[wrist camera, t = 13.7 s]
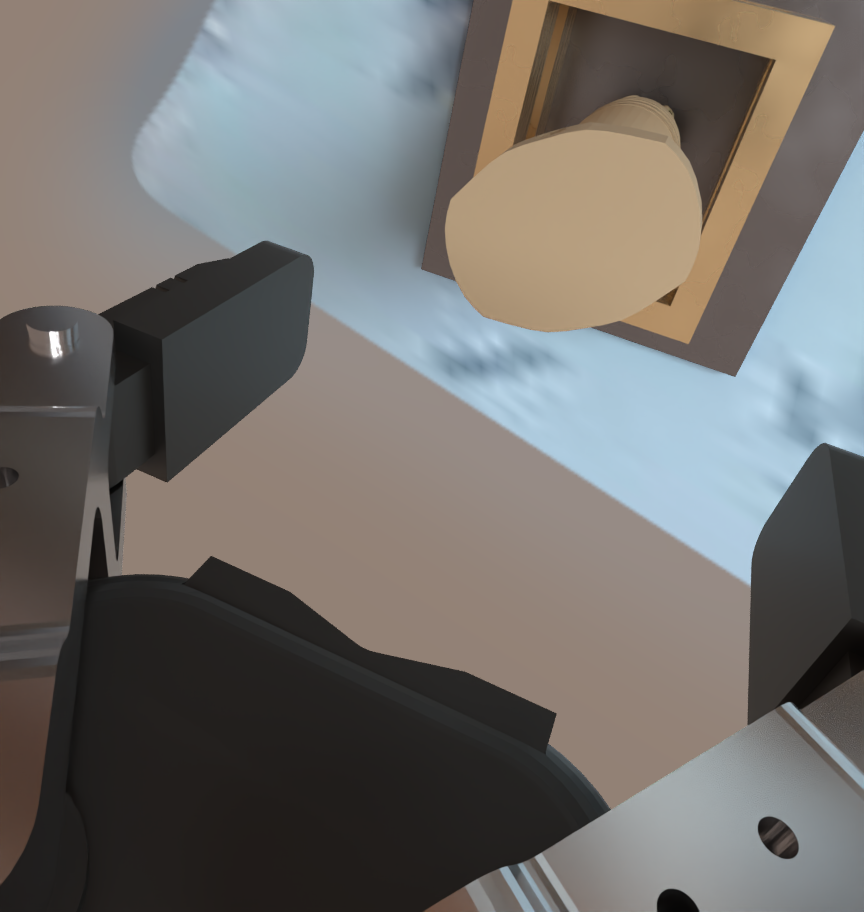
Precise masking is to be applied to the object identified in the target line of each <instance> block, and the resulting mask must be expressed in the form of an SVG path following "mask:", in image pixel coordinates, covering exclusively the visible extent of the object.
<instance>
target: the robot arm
mask: <svg viewBox="0 0 864 912" xmlns="http://www.w3.org/2000/svg"><path fill="white" fill-rule="evenodd" d="M313 277H314V266H313V262H312V259H311V258H310V257H309V256H308V255H305V254H302V253H300V252H297V251H294V250H291V249H289V248H286V247H283V246H280V245H277V244H275V243H272V242H269V241H263V242H260V243H258V244H257V245H255V246H253V247H251V248H249V249H247V250H245V251H243V252H241V253H239V254H238V255H236V256H234V257H232V258H230V259H222V260H217V261H212V262H207V263H201V264H197V265H195V266H193V267H191V268H189V269H187V270H185V271H183V272H181V273H179V274H177V275H176V276H175V278H174V279H172V278H169V279H167V280H165V281H163V282H162V283H159V284H157V286H156V288H152V287H151V288H150V289H148V290H146V291H144V292H142V293H140V294H138V295H136V296H134V297H132V298H130V299H128V300H126V301H124V302H122V303H120V304H118V305H116V306H114V307H112V308H110V309H108V310H106V311H104V312H102V313H100V314H96V313H93V312H91V311H88V310H84V309H80V308H75V307H68V306H39V307H33V308H27V309H23V310H19V311H16V312H13V313H11V314H8V315H6V316H4V317H3V318H1V319H0V912H864V457H863V456H860V455H857V454H854V453H852V452H849V451H846V450H843V449H840V448H838V447H835V446H832V445H829V444H827V443H823V444H820V445H819V446H818V447H817V448H816V449H815V450H814V451H813V452H812V453H811V455H810V456H809V458H808V459H807V461H806V462H805V464H804V465H803V467H802V468H801V470H800V471H799V473H798V474H797V476H796V477H795V479H794V480H793V482H792V483H791V485H790V487H789V488H788V490H787V491H786V493H785V494H784V496H783V497H782V499H781V500H780V502H779V503H778V505H777V506H776V508H775V509H774V511H773V512H772V514H771V516H770V517H769V519H768V520H767V522H766V523H765V525H764V527H763V529H762V531H761V533H760V535H759V537H758V540H757V542H756V545H755V549H754V552H753V557H752V567H751V608H750V609H751V610H750V648H749V650H750V651H749V688H748V726H747V727H745V728H743V729H742V730H740V731H738V732H737V733H735V734H734V735H732V736H730V737H729V738H727V739H725V740H724V741H722V742H721V743H719V744H717V745H716V746H714V747H712V748H711V749H709V750H708V751H706V752H705V753H703V754H701V755H699V756H698V757H696V758H695V759H693V760H691V761H690V762H688V763H687V764H685V765H683V766H682V767H680V768H679V769H677V770H675V771H673V772H672V773H670V774H669V775H667V776H665V777H664V778H662V779H660V780H659V781H657V782H656V783H654V784H652V785H651V786H649V787H648V788H646V789H644V790H643V791H641V792H639V793H638V794H636V795H634V796H633V797H631V798H630V799H628V800H626V801H625V802H623V803H621V804H620V805H618V806H617V807H615V808H614V809H612V810H611V809H610V808H609V806H608V805H607V803H606V802H605V801H604V799H603V798H602V796H601V795H600V794H599V792H598V791H597V790H596V789H595V788H594V787H593V785H592V784H591V783H590V782H589V781H588V780H587V778H586V777H585V776H584V775H583V774H582V773H581V772H580V771H579V770H578V769H577V768H576V767H575V766H574V765H573V764H572V763H571V762H570V761H569V760H567V759H566V758H565V757H564V756H563V755H562V754H561V753H560V752H558V751H557V750H556V749H554V748H553V747H552V746H551V745H549V744H548V742H549V738H550V735H551V731H552V728H553V724H554V721H555V717H556V713H554V712H552V711H550V710H548V709H545V708H543V707H541V706H539V705H536V704H535V703H532V702H530V701H528V700H526V699H524V698H521V697H519V696H517V695H515V694H513V693H510V692H508V691H506V690H504V689H502V688H499V687H497V686H495V685H493V684H491V683H489V682H486V681H484V680H482V679H480V678H478V677H475V676H473V675H471V674H469V673H467V672H463V671H459V670H454V669H449V668H445V667H440V666H436V665H431V664H427V663H422V662H417V661H413V660H408V659H404V658H399V657H394V656H390V655H385V654H381V653H376V652H372V651H369V650H367V649H364V648H362V647H360V646H359V645H358V644H356V643H355V642H354V641H352V640H351V639H350V638H348V637H347V636H346V635H345V634H343V633H342V632H341V631H340V630H338V629H337V628H336V627H334V626H333V625H332V624H330V623H329V622H328V621H327V620H325V619H324V618H323V617H321V616H320V615H319V614H318V613H316V612H315V611H313V609H311V608H310V607H309V606H307V605H306V604H305V603H304V602H302V601H301V600H300V599H298V598H297V597H296V596H295V595H293V594H292V593H291V592H289V591H287V590H285V589H283V588H280V587H278V586H276V585H274V584H271V583H269V582H267V581H265V580H263V579H261V578H258V577H256V576H254V575H252V574H250V573H248V572H245V571H243V570H241V569H239V568H237V567H234V566H232V565H230V564H228V563H225V562H223V561H221V560H219V559H217V558H215V557H212V556H211V557H210V558H209V559H208V560H207V561H206V562H205V563H204V564H203V565H202V566H201V567H200V568H199V569H198V570H197V571H196V572H195V573H194V574H193V575H192V576H191V577H190V578H189V579H188V578H183V577H175V576H165V575H148V574H146V575H145V574H135V575H122V560H123V544H124V528H125V527H124V526H125V511H126V495H127V493H126V482H125V477H127V476H128V475H129V474H130V473H132V472H133V471H134V470H136V469H137V470H140V471H142V472H144V473H147V474H149V475H151V476H154V477H156V478H158V479H160V480H162V481H165V482H168V481H169V480H171V479H172V478H173V477H174V476H175V475H177V474H178V473H179V472H180V471H181V470H183V469H184V468H185V467H186V466H187V465H189V464H190V463H191V462H192V461H193V460H194V459H196V458H197V457H198V456H199V455H200V454H202V453H203V452H204V451H205V450H206V449H207V448H209V447H210V446H211V445H212V444H213V443H215V442H216V441H217V440H218V439H219V438H221V437H222V435H224V434H225V433H226V432H228V431H229V430H230V429H231V428H232V427H234V426H235V425H236V424H237V423H238V422H239V421H241V420H242V419H243V418H244V417H245V416H246V415H248V414H249V413H250V412H251V411H252V410H254V409H255V408H256V407H257V406H258V405H260V404H261V403H262V402H263V401H264V400H265V399H266V398H268V397H269V396H270V395H271V394H273V393H274V392H275V391H276V390H277V389H278V388H280V387H281V386H282V385H283V384H284V383H286V382H287V381H288V380H289V379H290V378H291V377H292V376H293V375H294V374H295V372H296V370H297V369H298V367H299V365H300V363H301V361H302V359H303V356H304V353H305V349H306V343H307V335H308V325H309V315H310V306H311V296H312V286H313Z"/></svg>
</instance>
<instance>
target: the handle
mask: <svg viewBox="0 0 864 912" xmlns="http://www.w3.org/2000/svg"><path fill="white" fill-rule="evenodd" d="M701 229H702V202H701V196H700V192H699V187H698V183H697V178H696V176H695V174H694V171H693V169H692V166H691V164H690V161H689V160H688V158H687V157H686V156H685V154H684V153H683V151H682V150H681V144H680V135H679V130H678V127H677V125H676V122H675V120H674V113H673V111H672V109H671V108H670V107H669V106H668V105H664V106H662V105H661V104H660V103H658V102H656V101H654V100H652V99H648V98H645V97H639V96H638V95H631V96H627V97H624V98H622V99H618V100H616V101H613V102H611V103H608V104H606V105H604V106H603V107H601V108H599V109H597V110H596V111H594V112H593V113H592V114H590V115H589V116H588V117H587V118H585V119H584V120H583V121H582V122H581V123H580V124H578V125H574V126H570V127H566V128H562V129H558V130H555V131H551V132H548V133H545V134H542V135H538V136H535V137H532V138H529V139H527V140H524V141H522V142H519V143H517V144H515V145H514V146H512V147H511V148H509V149H507V150H506V151H505V152H504V153H502V154H501V155H500V156H499V157H497V158H496V159H495V160H493V161H492V162H491V163H489V164H488V165H487V166H486V167H485V168H484V169H482V170H481V171H480V172H479V173H478V174H477V175H476V176H475V177H474V178H472V179H471V180H470V181H469V182H468V183H467V184H466V185H465V186H464V187H463V188H462V189H461V190H460V191H459V192H458V193H457V194H456V195H455V196H454V197H453V198H452V199H451V201H450V204H449V208H448V211H447V217H446V224H445V238H446V248H447V253H448V258H449V262H450V266H451V269H452V271H453V274H454V277H455V279H456V282H457V284H458V286H459V287H460V289H461V291H462V293H463V295H464V296H465V298H466V299H467V300H468V301H469V302H470V304H471V305H472V306H473V307H474V308H475V309H476V310H477V311H478V312H479V313H480V314H481V315H482V316H483V317H486V318H489V319H493V320H496V321H500V322H503V323H507V324H510V325H514V326H518V327H522V328H526V329H530V330H536V331H543V332H559V331H569V330H576V329H582V328H588V327H595V326H601V325H606V324H609V323H613V322H617V321H621V320H623V319H625V318H627V317H629V316H631V315H633V314H635V313H637V312H639V311H641V310H642V309H644V308H646V307H647V306H649V305H650V304H652V303H653V302H655V301H657V300H658V299H660V298H661V297H663V296H664V295H666V294H667V293H669V292H670V291H672V290H673V289H675V288H676V287H678V286H679V285H681V284H682V283H683V282H685V281H686V279H687V277H688V275H689V273H690V271H691V269H692V267H693V265H694V262H695V259H696V256H697V253H698V250H699V245H700V237H701Z"/></svg>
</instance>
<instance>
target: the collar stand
mask: <svg viewBox="0 0 864 912" xmlns="http://www.w3.org/2000/svg"><path fill="white" fill-rule="evenodd" d="M631 95H638V96H639V97H645V98H648V99H652V100H654V101H656V102H658V103H660V104H661V105H662V106H664V105H668V106H669V107H670V108H671V109H672V111H673V113H674V120H675V122H676V125H677V127H678V130H679V135H680V144H681V150H682V151H683V153H684V154H685V156H686V157H687V158H688V160H689V161H690V164H691V166H692V169H693V171H694V174H695V176H696V178H697V183H698V187H699V192H700V196H701V202H702V229H701V237H700V245H699V250H698V253H697V256H696V259H695V262H694V265H693V267H692V269H691V271H690V273H689V275H688V277H687V279H686V281H685V282H683V283H682V284H681V285H679V286H678V287H676V288H675V289H673V290H672V291H670V292H669V293H667V294H666V295H664V296H663V297H661V298H660V299H658V300H657V301H655V302H653V303H652V304H650V305H649V306H647V307H646V308H644V309H642V310H641V311H639V312H637V313H635V314H633V315H631V316H629V317H627V318H625V319H623V320H621V321H617V322H613V323H609V324H606V325H601V326H595V327H591V328H594V329H597V330H600V331H603V332H606V333H609V334H612V335H615V336H618V337H621V338H624V339H626V340H629V341H632V342H635V343H638V344H641V345H644V346H647V347H650V348H653V349H656V350H659V351H661V352H664V353H667V354H670V355H673V356H676V357H679V358H682V359H685V360H688V361H691V362H693V363H696V364H699V365H702V366H705V367H708V368H711V369H714V370H717V371H720V372H723V373H726V374H728V375H731V376H734V377H735V376H736V374H737V372H738V371H739V369H740V367H741V365H742V363H743V361H744V359H745V357H746V355H747V353H748V351H749V349H750V347H751V346H752V344H753V342H754V340H755V338H756V336H757V334H758V332H759V330H760V328H761V326H762V324H763V323H764V321H765V319H766V317H767V315H768V313H769V311H770V309H771V307H772V305H773V303H774V301H775V299H776V298H777V296H778V294H779V292H780V290H781V288H782V286H783V284H784V282H785V280H786V278H787V276H788V275H789V273H790V271H791V269H792V267H793V265H794V263H795V261H796V259H797V257H798V255H799V253H800V251H801V250H802V248H803V246H804V244H805V242H806V240H807V238H808V236H809V234H810V232H811V230H812V228H813V227H814V225H815V223H816V221H817V219H818V217H819V215H820V213H821V211H822V209H823V207H824V205H825V204H826V202H827V200H828V198H829V196H830V194H831V192H832V190H833V188H834V186H835V184H836V182H837V180H838V179H839V177H840V175H841V173H842V171H843V169H844V167H845V165H846V163H847V161H848V159H849V157H850V156H851V154H852V152H853V150H854V148H855V146H856V144H857V142H858V140H859V138H860V136H861V134H862V132H863V131H864V0H474V1H473V7H472V12H471V17H470V22H469V27H468V32H467V37H466V42H465V48H464V53H463V58H462V63H461V68H460V73H459V78H458V84H457V89H456V94H455V99H454V104H453V109H452V114H451V119H450V125H449V130H448V135H447V140H446V145H445V150H444V155H443V160H442V166H441V171H440V176H439V181H438V186H437V191H436V196H435V202H434V207H433V212H432V217H431V222H430V227H429V232H428V237H427V243H426V248H425V253H424V258H423V263H422V268H421V269H422V270H425V271H428V272H431V273H434V274H437V275H440V276H443V277H446V278H449V279H452V280H454V281H456V279H455V277H454V274H453V271H452V269H451V266H450V262H449V258H448V253H447V248H446V238H445V224H446V217H447V211H448V208H449V204H450V201H451V199H452V198H453V197H454V196H455V195H456V194H457V193H458V192H459V191H460V190H461V189H462V188H463V187H464V186H465V185H466V184H467V183H468V182H469V181H470V180H471V179H472V178H474V177H475V176H476V175H477V174H478V173H479V172H480V171H481V170H482V169H484V168H485V167H486V166H487V165H488V164H489V163H491V162H492V161H493V160H495V159H496V158H497V157H499V156H500V155H501V154H502V153H504V152H505V151H506V150H507V149H509V148H511V147H512V146H514V145H515V144H517V143H519V142H522V141H524V140H527V139H529V138H532V137H535V136H538V135H542V134H545V133H548V132H551V131H555V130H558V129H562V128H566V127H570V126H574V125H578V124H580V123H581V122H582V121H583V120H584V119H585V118H587V117H588V116H589V115H590V114H592V113H593V112H594V111H596V110H597V109H599V108H601V107H603V106H604V105H606V104H608V103H611V102H613V101H616V100H618V99H622V98H624V97H627V96H631Z"/></svg>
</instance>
